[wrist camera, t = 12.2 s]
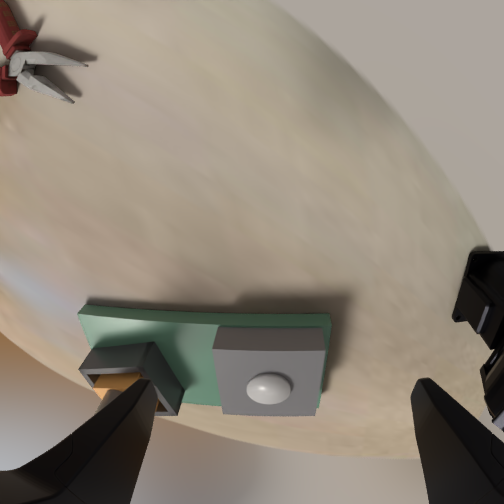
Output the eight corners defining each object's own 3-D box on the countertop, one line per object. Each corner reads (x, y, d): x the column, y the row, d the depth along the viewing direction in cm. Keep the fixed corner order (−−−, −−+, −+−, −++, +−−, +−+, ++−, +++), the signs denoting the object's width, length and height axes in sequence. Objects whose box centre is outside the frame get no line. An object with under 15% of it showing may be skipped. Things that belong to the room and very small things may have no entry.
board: (329, 313, 23) (331, 325, 22) (317, 396, 27) (318, 407, 26) (85, 304, 25) (77, 313, 24) (115, 381, 29) (110, 390, 28)
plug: (149, 354, 25) (95, 472, 14) (166, 382, 26) (125, 495, 15) (110, 358, 25) (53, 460, 15) (128, 383, 27) (82, 483, 16)
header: (154, 341, 24) (142, 366, 21) (185, 390, 26) (177, 415, 23) (92, 348, 25) (78, 369, 23) (124, 393, 28) (114, 414, 25)
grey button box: (322, 327, 22) (326, 354, 19) (313, 393, 25) (315, 419, 22) (218, 326, 23) (210, 352, 20) (227, 392, 26) (222, 417, 23)
